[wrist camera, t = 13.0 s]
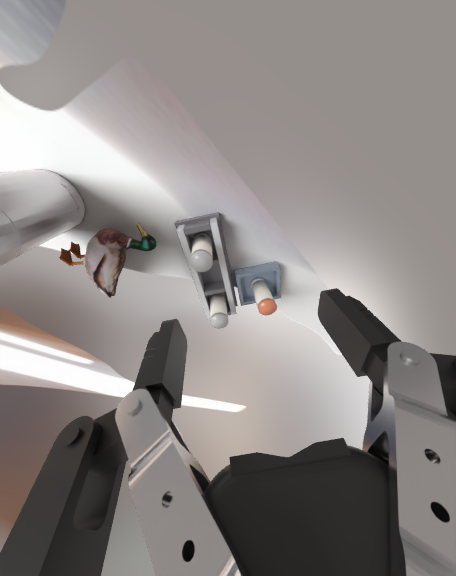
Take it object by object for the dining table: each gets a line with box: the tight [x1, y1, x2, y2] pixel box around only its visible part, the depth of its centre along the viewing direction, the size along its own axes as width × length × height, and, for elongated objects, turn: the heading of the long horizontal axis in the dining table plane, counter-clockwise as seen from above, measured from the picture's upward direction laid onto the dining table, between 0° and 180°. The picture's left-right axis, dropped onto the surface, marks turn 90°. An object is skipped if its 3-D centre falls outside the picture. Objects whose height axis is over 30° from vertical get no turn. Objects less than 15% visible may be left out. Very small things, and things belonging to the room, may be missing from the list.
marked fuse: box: [251, 277, 277, 315], centre depth 41 cm, size 4×4×9 cm
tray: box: [234, 262, 281, 306], centre depth 45 cm, size 10×9×3 cm
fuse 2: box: [210, 292, 228, 328], centre depth 42 cm, size 4×4×9 cm
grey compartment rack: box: [175, 212, 237, 319], centre depth 41 cm, size 8×23×4 cm, turn 10°
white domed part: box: [190, 233, 213, 272], centre depth 34 cm, size 4×4×9 cm
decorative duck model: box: [60, 223, 156, 297], centre depth 36 cm, size 15×8×15 cm
